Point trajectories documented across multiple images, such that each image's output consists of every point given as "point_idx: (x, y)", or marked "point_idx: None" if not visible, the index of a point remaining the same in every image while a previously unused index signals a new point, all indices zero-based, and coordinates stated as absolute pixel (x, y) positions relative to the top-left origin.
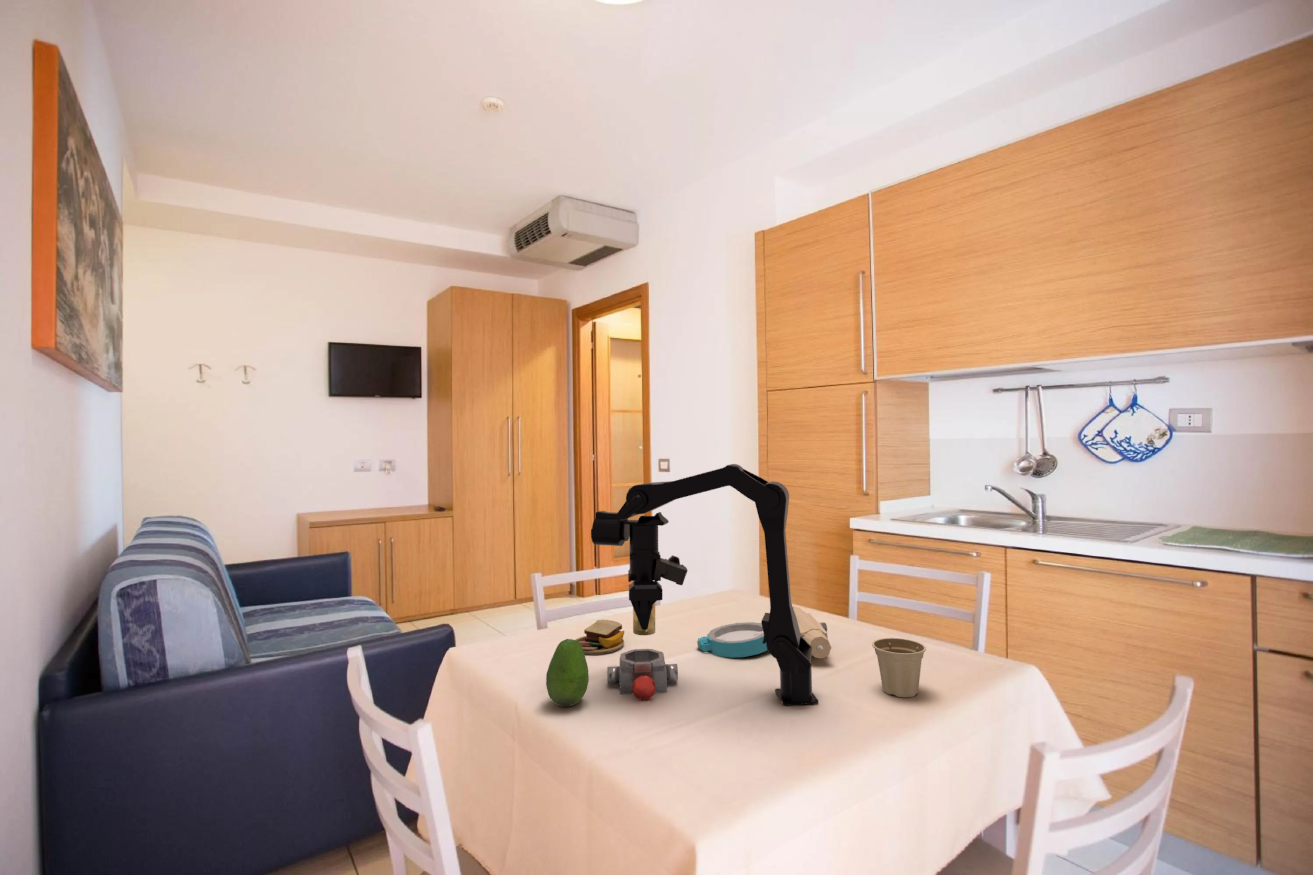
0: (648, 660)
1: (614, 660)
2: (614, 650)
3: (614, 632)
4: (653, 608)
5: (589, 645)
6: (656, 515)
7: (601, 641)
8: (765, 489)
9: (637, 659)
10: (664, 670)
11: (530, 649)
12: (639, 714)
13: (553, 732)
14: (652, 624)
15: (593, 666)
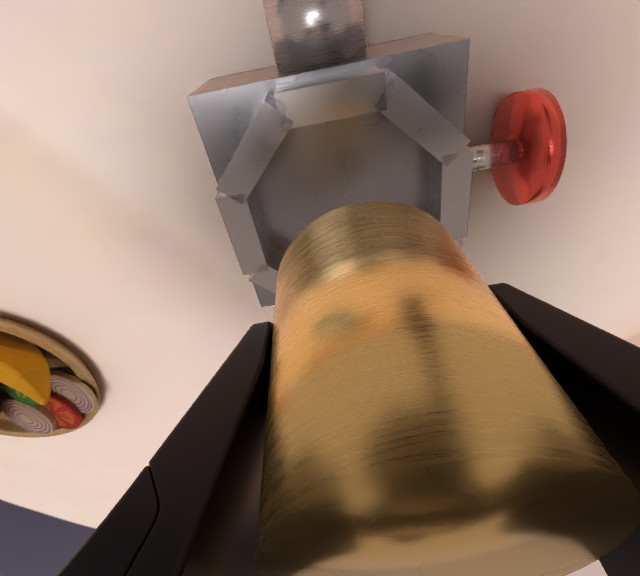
0: (293, 176)
1: (114, 305)
2: (20, 324)
3: None
4: (549, 410)
5: (57, 399)
6: None
7: (50, 386)
8: None
9: (285, 232)
10: (457, 55)
11: (122, 480)
12: (627, 133)
13: (636, 332)
14: (469, 263)
15: (193, 348)
